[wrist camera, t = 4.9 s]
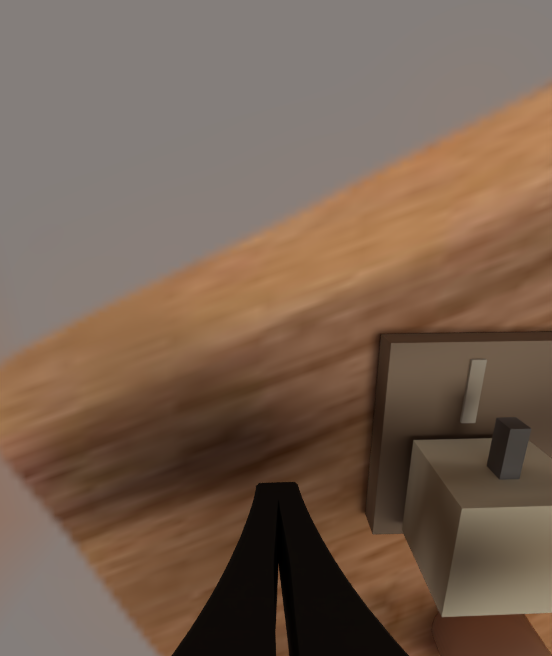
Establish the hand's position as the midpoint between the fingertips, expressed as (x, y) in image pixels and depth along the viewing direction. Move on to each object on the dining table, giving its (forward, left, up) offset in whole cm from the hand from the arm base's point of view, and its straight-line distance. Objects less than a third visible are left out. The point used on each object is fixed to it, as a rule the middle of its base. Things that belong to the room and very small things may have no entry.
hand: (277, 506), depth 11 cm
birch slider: (+1, -7, -1) cm, 7 cm away
